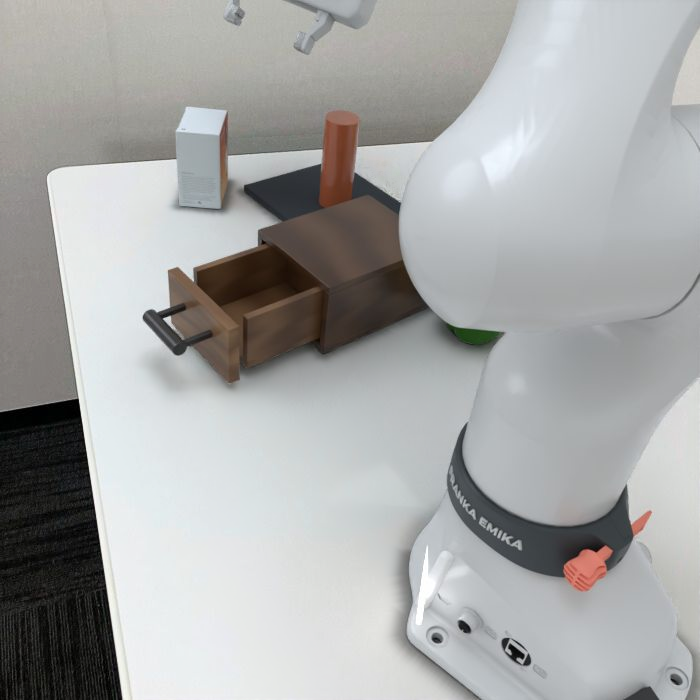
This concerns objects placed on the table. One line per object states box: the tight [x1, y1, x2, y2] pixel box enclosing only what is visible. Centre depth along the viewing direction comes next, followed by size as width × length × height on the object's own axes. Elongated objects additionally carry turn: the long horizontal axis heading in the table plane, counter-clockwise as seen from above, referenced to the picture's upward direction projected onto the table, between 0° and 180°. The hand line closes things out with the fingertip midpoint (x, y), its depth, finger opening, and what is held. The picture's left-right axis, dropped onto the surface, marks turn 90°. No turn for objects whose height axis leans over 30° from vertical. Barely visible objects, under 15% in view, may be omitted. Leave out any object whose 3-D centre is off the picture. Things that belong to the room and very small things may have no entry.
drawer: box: [142, 243, 324, 385], centre depth 79 cm, size 19×11×7 cm, turn 129°
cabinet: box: [257, 195, 430, 355], centre depth 86 cm, size 16×13×9 cm
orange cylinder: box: [319, 109, 361, 208], centre depth 101 cm, size 4×4×12 cm
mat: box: [243, 163, 401, 222], centre depth 105 cm, size 20×16×1 cm
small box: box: [174, 106, 229, 210], centre depth 101 cm, size 8×6×10 cm
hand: (265, 36), depth 87 cm, fingers open, 8 cm apart
